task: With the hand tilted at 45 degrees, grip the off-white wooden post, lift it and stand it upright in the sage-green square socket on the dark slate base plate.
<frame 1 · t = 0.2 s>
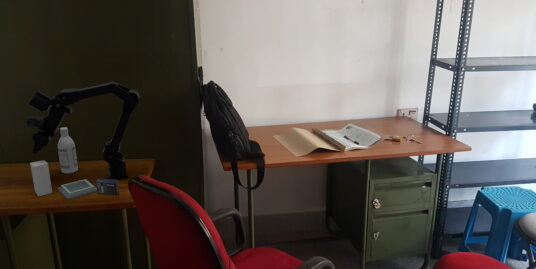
hand: (36, 149, 175), 15 cm above the table, tool tilted 35°, fingers open, 9 cm apart
white post: (43, 192, 171), on the table
bath foam: (69, 171, 192), on the table
base plate: (78, 190, 173), on the table
mini dv tape: (108, 194, 171), on the table
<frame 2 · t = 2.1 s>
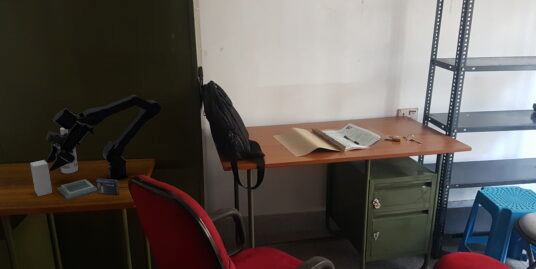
hand: (48, 166, 170), 10 cm above the table, tool tilted 45°, fingers open, 9 cm apart
nothing on the table moved.
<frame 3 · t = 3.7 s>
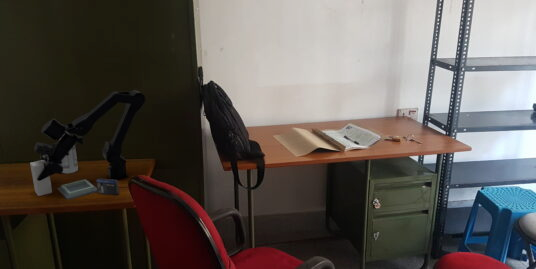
hand: (37, 177, 168), 7 cm above the table, tool tilted 45°, fingers closed on white post, 5 cm apart
white post: (43, 192, 171), on the table, touching gripper
everything else where it was.
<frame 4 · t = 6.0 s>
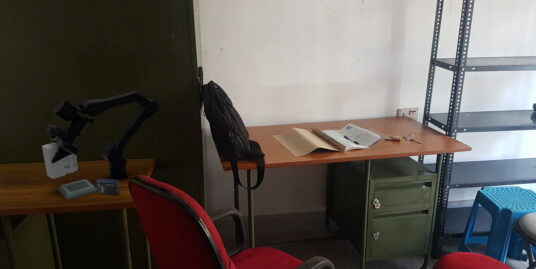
hand: (50, 160, 166), 14 cm above the table, tool tilted 45°, fingers closed on white post, 5 cm apart
white post: (56, 175, 169), point 7 cm above the table, touching gripper
everything else where it was.
when the fingers open (8 cm above the table, at t = 8.2 s): white post drops 1 cm, resting on base plate.
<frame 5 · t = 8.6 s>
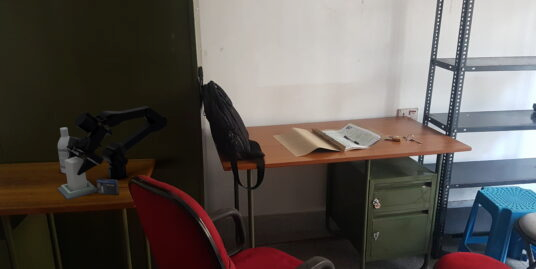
hand: (72, 171, 170), 9 cm above the table, tool tilted 45°, fingers open, 9 cm apart
white post: (77, 188, 173), point 1 cm above the table, touching base plate
everything else where it was.
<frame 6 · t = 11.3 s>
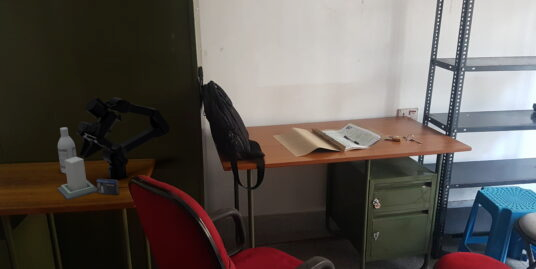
hand: (82, 156, 172), 14 cm above the table, tool tilted 45°, fingers open, 3 cm apart
nothing on the table moved.
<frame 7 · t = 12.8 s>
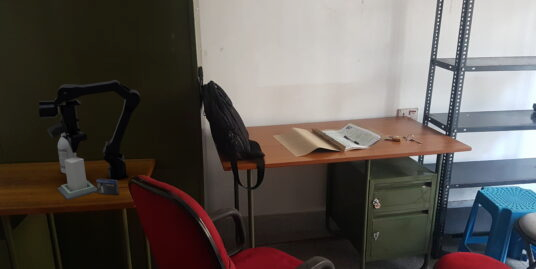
hand: (74, 152, 177), 13 cm above the table, tool pointing down, fingers closed
nothing on the table moved.
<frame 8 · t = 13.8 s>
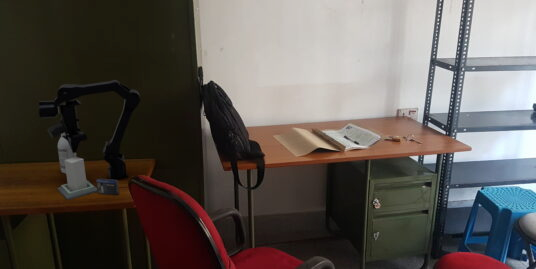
hand: (74, 152, 177), 13 cm above the table, tool pointing down, fingers closed
nothing on the table moved.
at the end: white post 0.0 cm off-centre on the base plate, point 0.8 cm above the base plate's base; white post tilted 0°; the gripper is holding nothing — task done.
